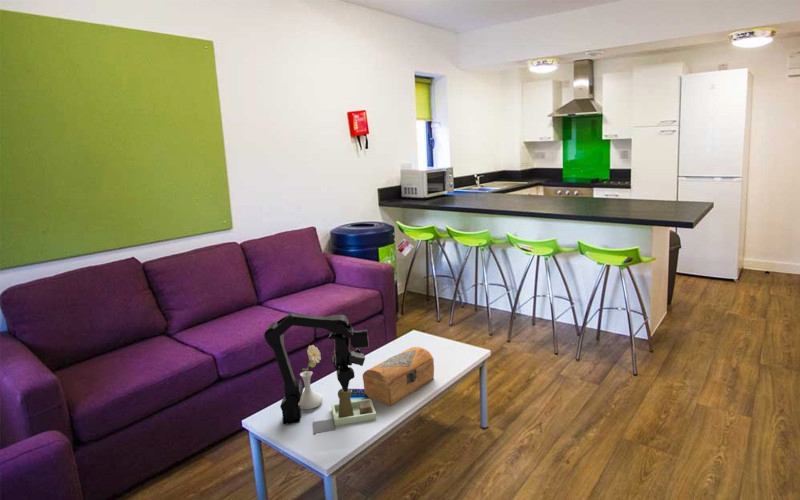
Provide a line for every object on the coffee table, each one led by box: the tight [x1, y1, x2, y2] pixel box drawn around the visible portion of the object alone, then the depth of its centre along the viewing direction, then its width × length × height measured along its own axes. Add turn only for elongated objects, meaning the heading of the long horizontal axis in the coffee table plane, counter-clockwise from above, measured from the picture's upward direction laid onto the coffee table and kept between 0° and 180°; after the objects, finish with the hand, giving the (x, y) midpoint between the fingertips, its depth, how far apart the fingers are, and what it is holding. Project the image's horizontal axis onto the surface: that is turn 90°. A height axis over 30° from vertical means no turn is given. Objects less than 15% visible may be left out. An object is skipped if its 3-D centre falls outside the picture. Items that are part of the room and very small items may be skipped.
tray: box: [331, 398, 377, 427], centre depth 198 cm, size 16×12×3 cm
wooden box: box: [362, 346, 435, 407], centre depth 217 cm, size 30×16×14 cm, turn 138°
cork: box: [337, 387, 354, 418], centre depth 196 cm, size 6×6×11 cm
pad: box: [312, 418, 337, 435], centre depth 191 cm, size 8×8×1 cm
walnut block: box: [359, 402, 371, 415], centre depth 197 cm, size 4×4×4 cm
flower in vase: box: [298, 344, 324, 410], centre depth 206 cm, size 13×11×25 cm
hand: (344, 386), depth 195 cm, fingers open, 9 cm apart
